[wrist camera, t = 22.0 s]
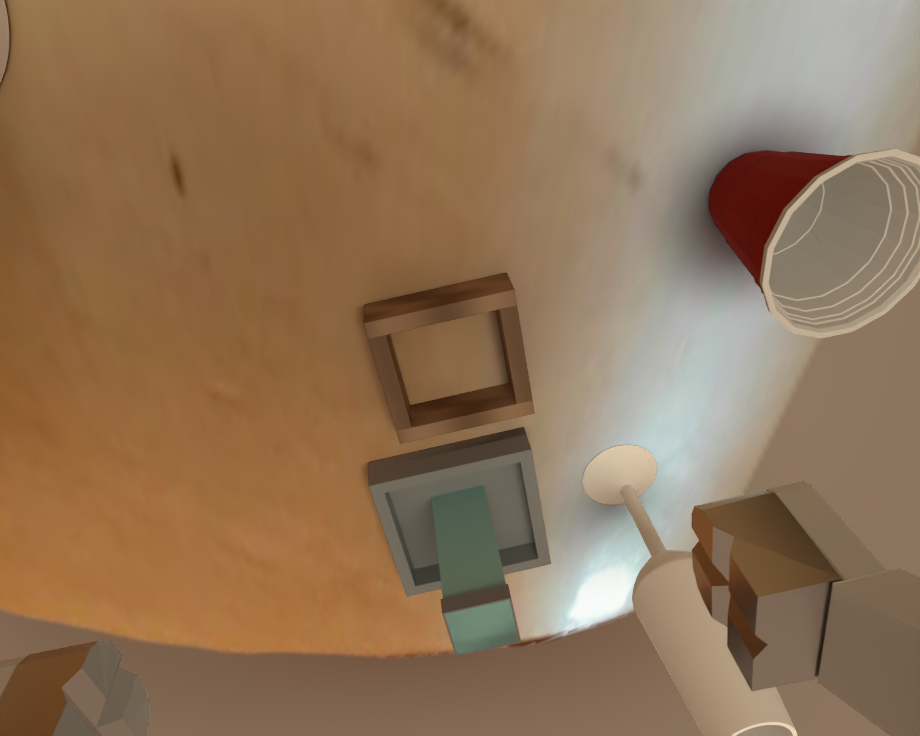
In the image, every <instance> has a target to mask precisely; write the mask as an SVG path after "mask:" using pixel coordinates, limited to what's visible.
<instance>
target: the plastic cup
mask: <svg viewBox="0 0 920 736" xmlns="http://www.w3.org/2000/svg"><path fill="white" fill-rule="evenodd" d="M709 208H710V211H711V214H712V217H713V220H714V223H715V225H716V226H717V228H718V229H719V230H720V231H721V233H722V234H723V235H724V237H725V239H726V242H727V243H728V245H729V246H730V247H731V248H732V250H733V251H734V252H735V254H736V255H737V256H738V258H739V259H740V260H741V262H742V263H743V264H744V265H745V267H746V268H747V269H748V271H749V272H750V273H751V275H752V276H753V277H754V280H755V282H756V284H757V285H758V286H759V287H760V288H761V292H762V293H763V295H764V298H765V301H766V305H767V308H768V310H769V312H770V314H771V315H772V316H773V317H775V318H776V319H777V320H778V321H779V322H780V323H781V324H782V325H783V326H784V327H786V328H787V329H788V330H789V331H790V332H791V333H796V334H801V335H805V336H810V337H815V338H824V337H829V336H834V335H839V334H844V333H849V332H853V331H855V330H856V329H858V328H860V327H862V326H864V325H865V324H867V323H869V322H871V321H873V320H875V319H876V318H878V317H880V316H882V315H884V314H885V313H887V312H888V311H889V310H890V309H891V307H893V306H894V305H895V304H896V303H897V302H898V301H899V300H900V299H901V298H902V297H904V296H905V295H906V294H907V293H908V292H909V291H910V290H911V289H912V288H913V287H914V286H915V285H916V283H917V282H918V280H919V278H920V157H918V156H915V155H912V154H909V153H906V152H903V151H900V150H897V149H888V150H882V151H876V152H870V153H864V154H857V155H847V156H835V155H824V154H813V153H802V152H775V151H760V152H753V153H747V154H744V155H742V156H740V157H738V158H737V159H735V160H733V161H731V162H730V163H729V164H728V165H727V166H726V167H725V168H724V169H723V170H722V171H721V172H720V173H719V174H718V176H717V178H716V180H715V182H714V184H713V186H712V188H711V191H710V200H709Z"/></svg>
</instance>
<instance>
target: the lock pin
mask: <svg viewBox="0 0 920 736" xmlns="http://www.w3.org/2000/svg"><path fill="white" fill-rule="evenodd" d="M431 499H432V508H433V516H434V525H435V534H436V542H437V551H438V560H439V568H440V577H441V586H442V594H443V599H441V607H442V614H443V617H444V621H445V624H446V627H447V630H448V633H449V637H450V640H451V643H452V646H453V649H454V652H455V656H456V657H457V656H461V655H466V654H470V653H474V652H479V651H483V650H488V649H492V648H496V647H501V646H505V645H510V644H514V643H518V642H521V640H520V635H519V631H518V626H517V622H516V617H515V613H514V609H513V604H512V600H511V596H510V591H509V587H508V584H506V582H505V577H504V573H503V568H502V564H501V559H500V555H499V550H498V546H497V542H496V537H495V533H494V528H493V524H492V519H491V515H490V511H489V506H488V502H487V497H486V493H485V489H484V485H482V486H478V487H473V488H469V489H464V490H460V491H456V492H451V493H447V494H442V495H438V496H434V497H431Z"/></svg>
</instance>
